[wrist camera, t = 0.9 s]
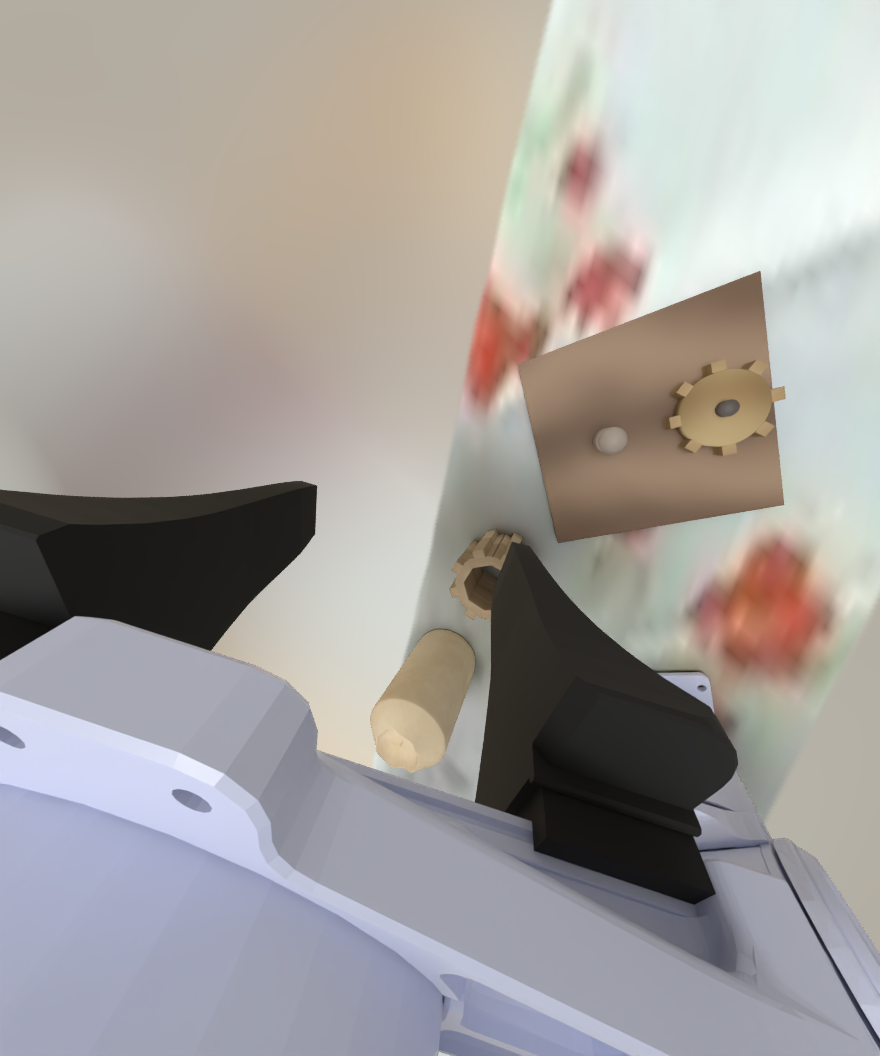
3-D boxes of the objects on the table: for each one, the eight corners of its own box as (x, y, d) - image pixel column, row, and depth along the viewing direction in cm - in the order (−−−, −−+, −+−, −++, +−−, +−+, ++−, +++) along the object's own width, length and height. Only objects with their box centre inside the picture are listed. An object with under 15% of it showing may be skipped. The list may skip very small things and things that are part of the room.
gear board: (773, 501, 19) (838, 521, 15) (557, 538, 24) (557, 562, 19) (749, 279, 17) (816, 224, 13) (519, 367, 22) (509, 349, 17)
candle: (450, 618, 28) (398, 703, 19) (488, 668, 28) (455, 777, 19) (407, 643, 31) (343, 731, 22) (442, 690, 31) (394, 797, 21)
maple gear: (542, 587, 25) (538, 621, 20) (477, 595, 27) (460, 628, 22) (526, 522, 24) (518, 543, 19) (460, 536, 26) (440, 557, 21)
